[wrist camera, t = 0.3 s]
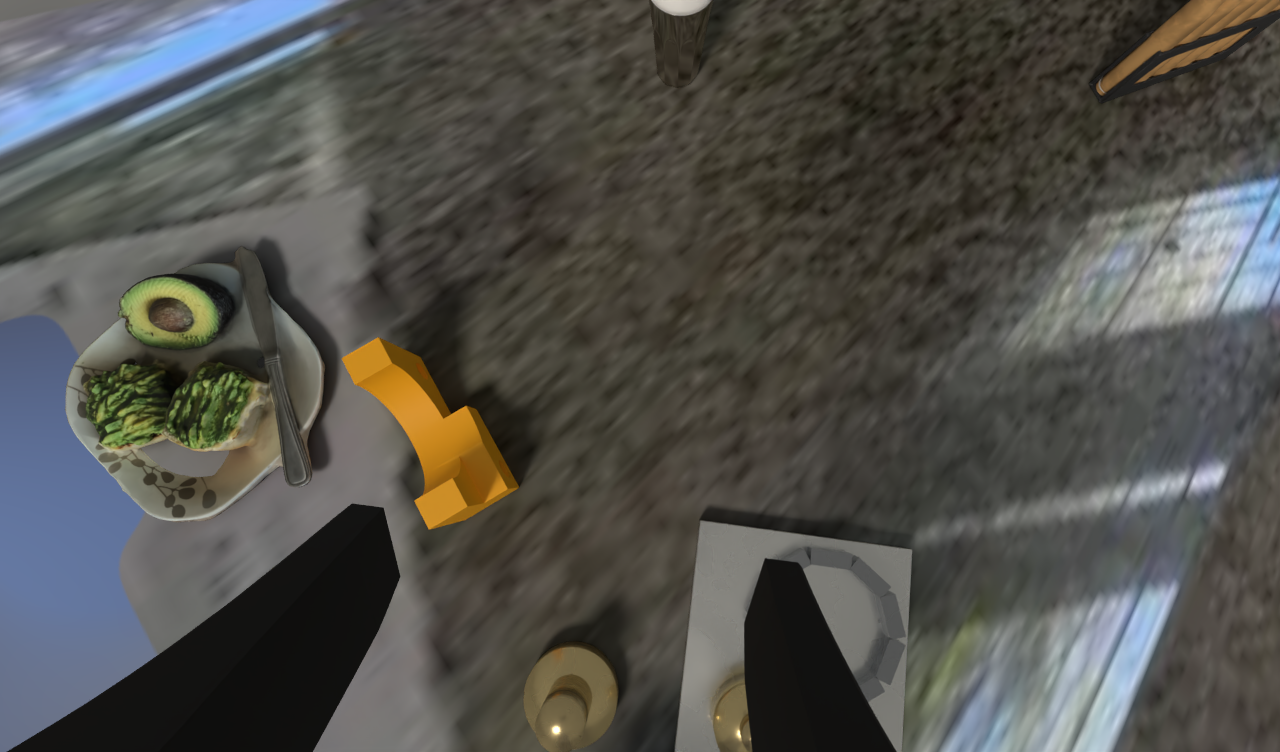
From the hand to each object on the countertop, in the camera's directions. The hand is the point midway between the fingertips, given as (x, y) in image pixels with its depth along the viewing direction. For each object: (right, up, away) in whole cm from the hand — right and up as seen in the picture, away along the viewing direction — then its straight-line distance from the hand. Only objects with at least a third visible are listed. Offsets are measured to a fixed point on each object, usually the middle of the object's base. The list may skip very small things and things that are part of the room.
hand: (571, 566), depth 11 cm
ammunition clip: (+41, +27, +32) cm, 59 cm away
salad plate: (-31, +3, +31) cm, 44 cm away
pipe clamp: (-12, 0, +30) cm, 32 cm away
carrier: (+11, -15, +26) cm, 32 cm away
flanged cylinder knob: (-3, -17, +26) cm, 32 cm away
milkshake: (+4, +28, +34) cm, 44 cm away
